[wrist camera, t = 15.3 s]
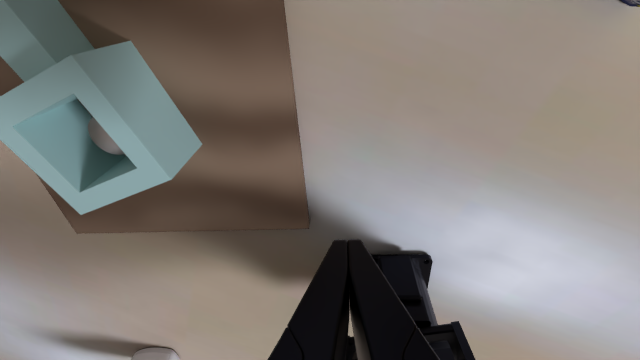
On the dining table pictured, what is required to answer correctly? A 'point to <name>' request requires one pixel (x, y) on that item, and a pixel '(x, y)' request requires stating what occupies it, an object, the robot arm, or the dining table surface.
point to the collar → (72, 118)
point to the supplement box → (632, 2)
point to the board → (205, 114)
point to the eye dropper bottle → (155, 354)
